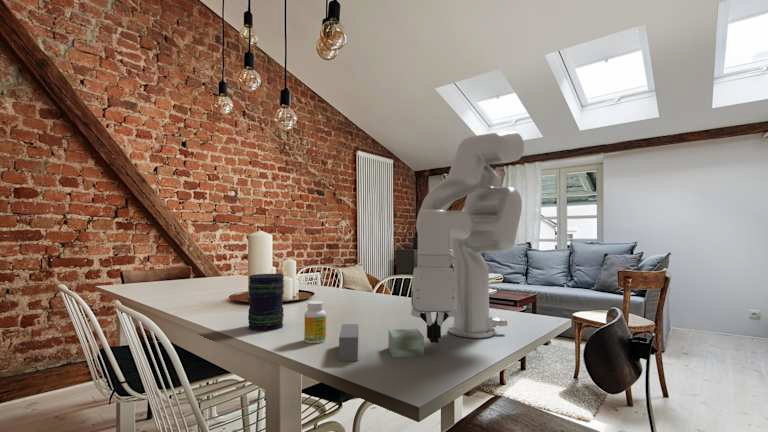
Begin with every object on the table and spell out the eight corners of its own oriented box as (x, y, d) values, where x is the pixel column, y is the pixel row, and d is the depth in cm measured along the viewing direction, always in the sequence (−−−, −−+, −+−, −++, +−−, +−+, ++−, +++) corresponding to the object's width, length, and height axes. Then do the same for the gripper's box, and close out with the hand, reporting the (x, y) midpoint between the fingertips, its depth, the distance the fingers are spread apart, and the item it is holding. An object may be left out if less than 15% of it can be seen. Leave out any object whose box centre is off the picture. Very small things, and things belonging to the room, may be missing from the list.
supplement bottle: (315, 345, 95) (316, 305, 96) (299, 341, 98) (300, 302, 98) (330, 339, 100) (330, 301, 100) (314, 336, 103) (314, 299, 103)
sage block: (417, 347, 94) (417, 328, 94) (423, 356, 87) (423, 336, 87) (388, 348, 93) (388, 329, 93) (393, 358, 86) (393, 337, 86)
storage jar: (290, 326, 114) (290, 275, 114) (260, 333, 106) (261, 278, 107) (270, 321, 120) (271, 273, 121) (241, 327, 113) (242, 275, 113)
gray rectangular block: (358, 344, 96) (358, 324, 96) (357, 360, 84) (357, 337, 84) (341, 344, 95) (342, 324, 96) (339, 361, 83) (339, 337, 84)
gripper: (460, 261, 96) (461, 337, 95) (400, 261, 95) (400, 337, 94) (469, 263, 88) (470, 345, 87) (403, 263, 87) (403, 346, 86)
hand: (433, 341), depth 90 cm, fingers closed
